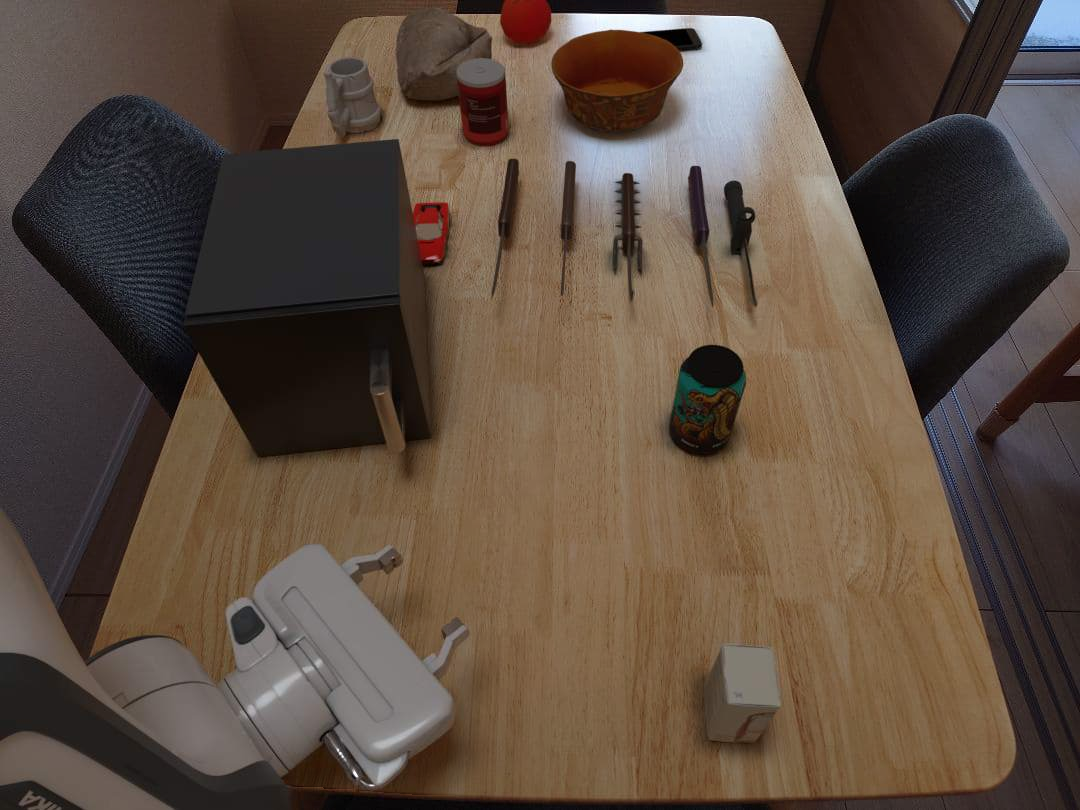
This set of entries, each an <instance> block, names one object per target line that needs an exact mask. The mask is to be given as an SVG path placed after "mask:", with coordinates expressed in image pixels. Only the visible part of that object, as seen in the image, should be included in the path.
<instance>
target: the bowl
mask: <svg viewBox="0 0 1080 810" xmlns="http://www.w3.org/2000/svg"><path fill="white" fill-rule="evenodd" d="M642 32H643V31H635V30H625V29H607V30H601V31H600V30H599V31H593V32H588V33H585V34H581V35H578V36H576V37H574V38H571V39H570V40H569V41H567V42H566V43H563V45H561V46H560V47H559V48H558V49H556V51H555V52H554V54H553V55H552V58H551V63H550V64H551V65H550V67H551V71H552V74H553V76H554V78H555V79H556V82H557V83H558V85H560V88H561V90H562V92H563V97H564V102H565V106H566V109H567V112H568V114H569V115H570V116H571V118H572V119H573V120H575V122H577V123H579V124H581V125H582V126H585V127H587V128H591V129H594V130H597V131H598V130H599V131H603V132H604V131H605V132H623V131H629V130H634V129H637V128H641V127H644V126H646V125H648V124H650V123H652V122H654V121H655V120H656V119H657V118H658V117H659V116H660V114H661V113H662V111H663V109H664V106H665V103H666V99H667V96H668V93H669V90H670V89H671V87H672V86H673V85H674V83H675V81H676V80H678V79H677V78H678V77H679V76H680V74H681V73H682V70H683V68H684V58H683V56H682V55H683V54H682V53H681V50H678V49H677V48H676V47H675V46H674V45H673V44H672V43H670V42H669V41H667V40H664V39H662V38H660V37H657V36H654V35H650V34H647V33H642Z"/></svg>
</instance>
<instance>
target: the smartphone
mask: <svg viewBox="0 0 1080 810" xmlns="http://www.w3.org/2000/svg"><path fill="white" fill-rule="evenodd" d="M641 32H642V33H647V34H650V35H654V36H657V37H660V38H662V39H664V40H667V41H669V42H670V43H672V44H673V45H674V46H675V47H676V48H677V49H678V50H679V51H684V50H696V49H697V50H698V49H700V48H702V47H703V42H702V40H701V38H700V36H699V35H698V33H697V30H696V29H695V28H692V27H685V28H673V29H661V30H648V31H647V30H646V31H641Z"/></svg>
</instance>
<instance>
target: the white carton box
mask: <svg viewBox="0 0 1080 810" xmlns="http://www.w3.org/2000/svg"><path fill="white" fill-rule="evenodd" d="M776 661H777V660H776V657H775V651H774V648H773V647H771V646H761V645H754V644H753V645H752V644H751V645H750V644H741V643H727V642H723V643H722V644H721V646H720V649H719V651H718V654H717V655H716V658H715V660H714V662H713V665H712V667H711V669H710V671H709V674H708V676H707V677H706V680H705V682H704V684H703V702H704V703H703V704H704V716H705V727H706V736H707V737H706V738H707V740H708V741H715V742H722V743H723V742H724V743H737V744H755V743H756V742H757V740H758V739H759V737H760V736H761V735H762V733H764V731H765V728H766V727H767V726H768V725H769V723H770V722H771V720H772V719H773V718H774V716H775V715H776V713H777V712H778V711H779V709H780V708H781V706H782V700H781V691H780V684H779V683H780V681H779V674H778V667H777V662H776Z"/></svg>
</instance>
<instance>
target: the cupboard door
mask: <svg viewBox="0 0 1080 810" xmlns="http://www.w3.org/2000/svg"><path fill="white" fill-rule="evenodd" d="M183 328H184V329H185V331H186V333H187V335H188V337H189V339H190V341H191V342H192V343H193V346H194V347H195V349H196V351H197V353H198V354H199V356H200V358H201V360H202V362H203V363H204V365H205V366H206V368H207V370H208V372H209V374H210V376H211V377H212V379H213V381H214V382H215V385H216V386H217V388H218V390H219V392H220V393H221V395H222V397H223V399H224V401H225V402H226V404H227V405H228V407H229V409H230V411H231V413H232V415H233V417H234V418H235V420H236V422H237V423H238V425H239V427H240V429H241V431H242V432H243V435H244V436H245V438H246V439H247V442H248V443H249V445H250V446H251V448H252V450H253V451H254V453H255V455H256V457H257V458H259V457H267V456H276V455H284V454H285V455H286V454H295V453H303V452H313V451H321V450H333V449H343V448H349V447H359V446H367V445H368V446H369V445H375V444H377V445H379V444H385V443H386V446H387V449H388V451H389V452H390V453H391V454H394V455H397V454H401V453H402V452H404V451H405V448H406V441H413V440H424V439H431V438H432V429H431V430H430V426H429V421H428V417H427V413H426V408H425V404H424V400H423V395H422V391H421V387H420V382H419V378H418V374H417V370H416V365H415V361H414V357H413V352H412V348H411V344H410V339H409V335H408V331H407V326H406V322H405V318H404V313H403V309H402V305H401V300H400V297H392V298H382V299H372V300H362V301H352V302H342V303H332V304H322V305H312V306H302V307H292V308H282V309H271V310H261V311H251V312H241V313H231V314H221V315H211V316H201V317H191V318H186V317H184V319H183Z"/></svg>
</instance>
